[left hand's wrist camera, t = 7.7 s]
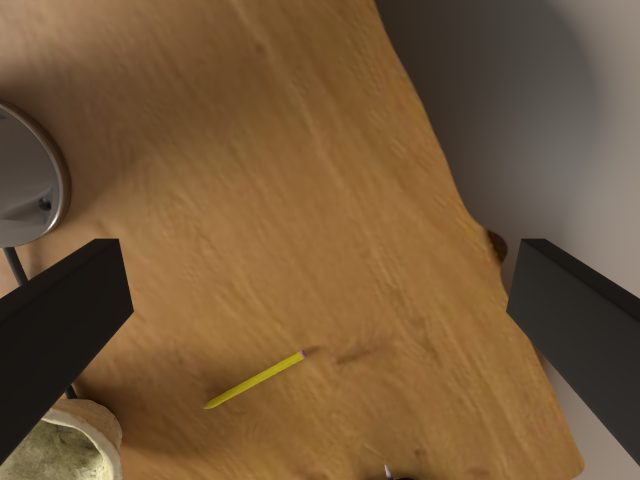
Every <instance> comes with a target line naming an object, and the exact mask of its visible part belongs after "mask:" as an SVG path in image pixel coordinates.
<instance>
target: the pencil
mask: <svg viewBox="0 0 640 480" xmlns="http://www.w3.org/2000/svg"><path fill="white" fill-rule="evenodd" d="M304 358H306V354H305V352H304V351H303V350H302V351H300V352H298V353H296V354H294V355H293V356H291V357H289V358H287V359H285V360H283V361H281V362H280V363H278V364H276V365H274V366H272V367H270V368H269V369H267V370H265V371H263V372H261V373H259V374H258V375H256V376H254V377H252V378H250V379H248V380H247V381H245V382H243V383H241V384H239V385H237V386H236V387H234V388H232V389H230V390H228V391H226V392H225V393H223V394H221V395H219V396H217V397H215V398H214V399H212V400H210V401H208V403H207V404H206V405H205V406H204V407H203V408H202V409H209V408H213V407H215V406H217V405H218V404H220V403H222V402H224V401H226V400H228V399H230V398H231V397H233V396H235V395H237V394H239V393H241V392H243V391H244V390H246V389H248V388H250V387H252V386H254V385H256V384H257V383H259V382H261V381H263V380H265V379H267V378H269V377H270V376H272V375H274V374H276V373H278V372H280V371H282V370H283V369H285V368H287V367H289V366H291V365H293V364H295V363H296V362H298V361H300V360H302V359H304Z"/></svg>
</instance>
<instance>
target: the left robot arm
mask: <svg viewBox="0 0 640 480" xmlns="http://www.w3.org/2000/svg"><path fill="white" fill-rule="evenodd" d="M70 198H71V181H70V175H69V171H68V168H67V165H66V162H65V160H64V158H63V156H62V153H61V152H60V150H59V148H58V146H57V145H56V143H55V142H54V141H53V139H52V138H51V137H50V135H49V134H48V133H47V132H46V131H45V130H44V129H43V127H42V126H41V125H39V124H38V123H37V122H36V121H35V120H34V119H33V118H31V117H30V116H29V115H27V114H26V113H25V112H23V111H22V110H20V109H18V108H16V107H15V106H13V105H11V104H9V103H6V102H4V101H1V100H0V248H3V250H4V252H5V255H6V257H7V260H8V262H9V264H10V267H11V269H12V271H13V273H14V275H15V278H16V280H17V282H18V284H19V287H18V288H16V289H15V290H13V291H12V292H10V293H9V294H7V295H5V296H4V297H2V298H1V299H0V466H1V465H2V464H3V463H4V462H5V460H6V459H7V458H8V457H9V456H10V455H11V453H12V452H13V451H14V450H15V449H16V448H17V447H18V445H19V444H20V443H21V442H22V441H23V440H24V438H25V437H26V436H27V435H28V434H29V433H30V431H31V430H32V429H33V428H34V427H35V426H36V425H37V423H38V422H39V421H40V420H41V419H42V418H43V416H44V415H45V414H46V413H47V412H48V411H49V409H50V408H51V407H52V406H53V405H54V404H55V403H56V401H57V400H58V399H59V398H60V397H61V396H62V394H63V393H64V392H65V394H66V396H67V398H68V399H77V396H76V394H75V392H74V390H73V387H72V385H71V384H72V383H73V382H74V381H75V379H76V378H77V377H78V376H79V375H80V374H81V372H82V371H83V370H84V369H85V368H86V367H87V365H88V364H89V363H90V362H91V361H92V360H93V359H94V357H95V356H96V355H97V354H98V353H99V352H100V350H101V349H102V348H103V347H104V346H105V345H106V343H107V342H108V341H109V340H110V339H111V338H112V337H113V335H114V334H115V333H116V332H117V331H118V330H119V328H120V327H121V326H122V325H123V324H124V323H125V321H126V320H127V319H128V318H129V317H130V316H131V314H132V313H133V312H134V309H133V305H132V300H131V295H130V290H129V286H128V281H127V276H126V271H125V267H124V262H123V257H122V252H121V248H120V243H119V239H94V240H92V241H91V242H89V243H87V244H86V245H84V246H83V247H81V248H80V249H78V250H76V251H75V252H73V253H72V254H70V255H69V256H67V257H65V258H64V259H62V260H61V261H59V262H58V263H56V264H54V265H53V266H51V267H50V268H48V269H46V270H45V271H43V272H42V273H40V274H39V275H37V276H35V277H34V278H32V279H31V280H29V281H28V279H27V277H26V275H25V272H24V270H23V268H22V266H21V263H20V261H19V258H18V256H17V253H16V251H15V248H14V246H20V245H24V244H27V243H30V242H32V241H34V240H36V239H38V238H40V237H42V236H44V235H46V234H48V233H49V232H51V231H52V230H53V229H55V228H56V227H57V226H58V225H59V224H60V222H61V221H62V220H63V218H64V216H65V215H66V213H67V210H68V207H69V204H70ZM506 312H507V313H508V314H509V316H510V317H511V318H512V319H513V320H514V321H515V323H516V324H517V325H518V326H519V327H520V328H521V330H522V331H523V332H524V333H525V334H526V335H527V337H528V338H529V339H530V340H531V341H532V342H533V343H534V345H535V346H536V347H537V348H538V349H539V350H540V352H541V353H542V354H543V355H544V356H545V357H546V359H547V360H548V361H549V362H550V363H551V364H552V365H553V367H554V368H555V369H556V370H557V371H558V372H559V374H560V375H561V376H562V377H563V378H564V379H565V381H566V382H567V383H568V384H569V385H570V386H571V387H572V389H573V390H574V391H575V392H576V393H577V394H578V396H579V397H580V398H581V399H582V400H583V401H584V402H585V404H586V405H587V406H588V407H589V408H590V409H591V411H592V412H593V413H594V414H595V415H596V416H597V418H598V419H599V420H600V421H601V422H602V423H603V425H604V426H605V427H606V428H607V429H608V430H609V431H610V433H611V434H612V435H613V436H614V437H615V438H616V440H617V441H618V442H619V443H620V444H621V445H622V446H623V448H624V449H625V450H626V451H627V452H628V453H629V455H630V456H631V457H632V458H633V459H634V460H635V462H636V463H637V464H638V465H639V466H640V299H639V298H638V297H636V296H635V295H633V294H631V293H630V292H628V291H627V290H625V289H623V288H622V287H620V286H619V285H617V284H616V283H614V282H612V281H611V280H609V279H608V278H606V277H605V276H603V275H601V274H600V273H598V272H597V271H595V270H593V269H592V268H590V267H589V266H587V265H586V264H584V263H582V262H581V261H579V260H578V259H576V258H575V257H573V256H571V255H570V254H568V253H567V252H565V251H563V250H562V249H560V248H559V247H557V246H556V245H554V244H553V243H551V242H549V241H548V240H546V239H521V243H520V248H519V252H518V257H517V262H516V267H515V271H514V276H513V281H512V286H511V291H510V295H509V300H508V305H507V309H506Z"/></svg>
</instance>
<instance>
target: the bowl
mask: <svg viewBox="0 0 640 480" xmlns="http://www.w3.org/2000/svg"><path fill="white" fill-rule="evenodd" d="M121 442H122V429H121V426H120V424H119V422H118V421H117V420H116V417H115V416H114V414H112V413H111V412H110V411H109V410H108V409H107V408H106V407H105V406H102V405H100V404H97V403H95V402H94V401H91V400H86V399H85V400H83V399H62V400H57V401H56V403H55V404H54V405H53V406H52V407H51V408H50V409H49V411H48V412H47V413H46V414H45V415H44V416H43V418H42V419H41V420H40V421H39V422H38V423H37V425H36V426H35V427H34V428H33V429H32V430H31V431H30V433H29V434H28V435H27V436H26V437H25V438H24V440H23V441H22V442H21V443H20V444H19V445H18V447H17V448H16V449H15V450H14V451H13V452H12V453H11V455H10V456H9V457H8V458H7V459H6V460H5V462H4V463H3V464H2V465H1V466H0V480H122V478H123V468H122V459H121V455H120V453H119V448H120V444H121Z"/></svg>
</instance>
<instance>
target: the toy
mask: <svg viewBox="0 0 640 480" xmlns="http://www.w3.org/2000/svg"><path fill="white" fill-rule="evenodd" d="M385 470H386V474H387V478H388V480H393V478H392V476H391V474H390V471H389V469H388V467H387V466H386V464H385ZM396 480H414V479H411V478H400V479H396Z"/></svg>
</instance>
